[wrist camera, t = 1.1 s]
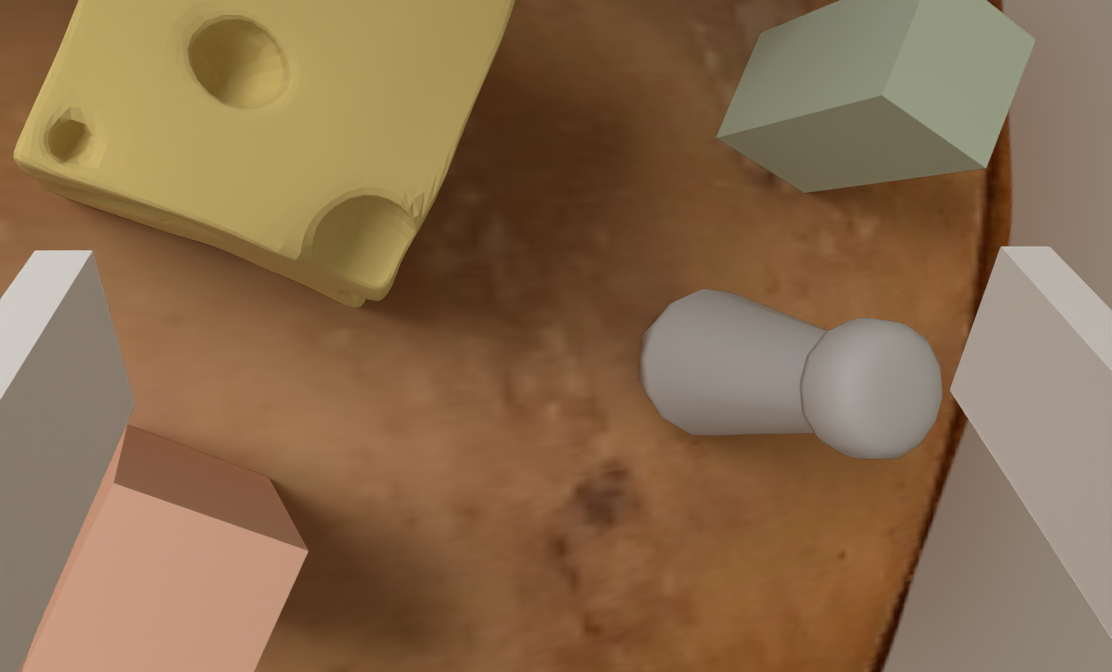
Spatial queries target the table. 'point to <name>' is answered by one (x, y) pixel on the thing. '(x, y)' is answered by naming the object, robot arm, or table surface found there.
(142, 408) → the table surface
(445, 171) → the cheese
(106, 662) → the terracotta block
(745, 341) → the salt shaker
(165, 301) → the table surface
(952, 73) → the sage block
